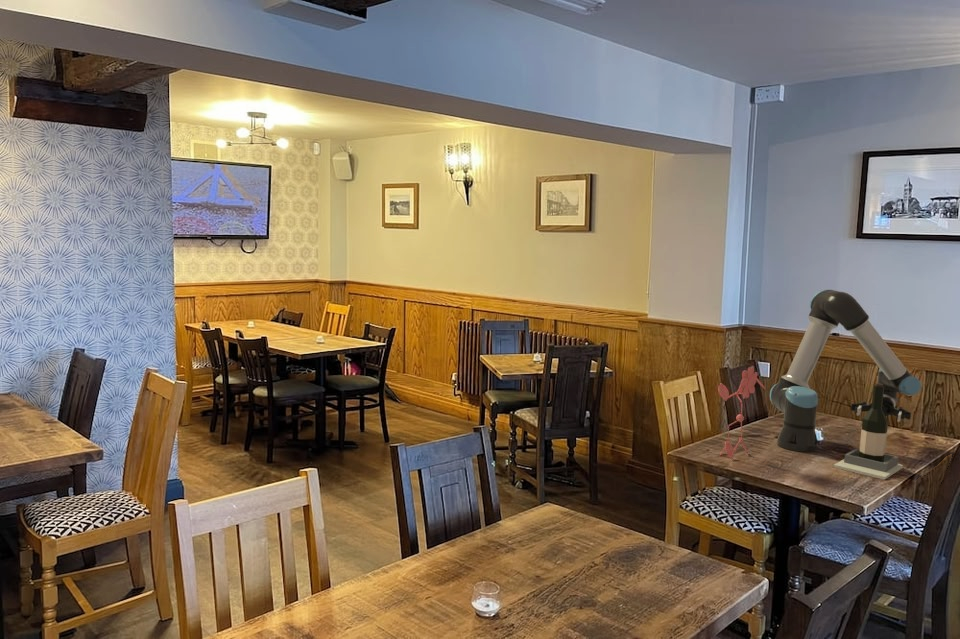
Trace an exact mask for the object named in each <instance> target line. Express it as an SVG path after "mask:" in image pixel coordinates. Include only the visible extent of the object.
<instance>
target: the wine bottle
mask: <svg viewBox="0 0 960 639" xmlns="http://www.w3.org/2000/svg"><path fill="white" fill-rule="evenodd" d="M883 393H884V386H883V384H880V383H878V382H877V383H876V382H875V384H874V385H873V389H872V399H871V403H872V407H871V409H870V410H869V411H867V412H866V413H865V415H864V416H863V417H862V421H861V432H860V439H859V440H860V442H859V448H860V450H859V457H861V458H865V459H869V460H874V461H878V462H882V463H884V456H885V454H886V446H887V445H886V444H887V437H888V436H887V435H888V426H889V420H888V417H887V416H885V414H884V412H883V410H882V403H883Z"/></svg>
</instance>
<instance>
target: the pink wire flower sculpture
mask: <svg viewBox="0 0 960 639" xmlns="http://www.w3.org/2000/svg"><path fill="white" fill-rule="evenodd" d="M758 375H759V373H758V371H756V372H755V367H754V365H751V366H749V367H748V368H747V370H746V369H745V370H743V371H742V372H741V377H742V379H741V381H740V384H739V386H738V389H737V391H735V392H734V393H732V394H730V391H729V390H728V388H727V386H726V385H724V384H723V383H722V382H721V383H719V385H718V389H717V390H718V394H719V397H721V398H722V399H723V401H725V402H727V401H728V399H730V398H731V397H734V396H736V397H737V399H738V401H739V402H740V414H737V416H736V417H735V418H736V420H735V421H734V422H732V423H730V424H728V426H727V440H726V441H725V442H724V447H723V449H722V451H721V452H720V454H719V456H722V454H724V452H725V451H726V454H727V456H728V457H729V458H730V459H731V460H733V458H734V455H735V453H734V452H735V451H736V449H737V448H738V446H739V445H740V444H741V446H742V447H743V449H744V450H745V452H746V453H747V454H749V451H748V449H747V447H746V445H745V444H744V442H743V421H744V420H745V417H744V415H743V403H744V402H743V401H742V399H743V400H744V399H748V398H750V394H754V393H755V391H756V388H755V385H756V383H758V384H759V385H760V387H762V388H763V389H764V390H767V389H766V387H765V385H764V384H763V383H762V381H761V380H760V379H759V378H758ZM739 395H742V399H741V398H740V396H739ZM737 422H740V436H741V437H739V438H738V439H739V441H738V442H737V444H736V445H735V446H734V447H733V446H732V444H731V442H730V426H733V425H734V424H735V423H737ZM709 457H710V458H712V456H711V455H709Z"/></svg>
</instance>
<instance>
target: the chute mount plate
mask: <svg viewBox="0 0 960 639" xmlns="http://www.w3.org/2000/svg"><path fill="white" fill-rule="evenodd" d="M859 450H860V447H856V448H854V449H852V450H851V451H849V452H847V453H845V454H844V459H842V460H840V461H838V462H836V463H834V464H833V468H835V469H838V470H839V469H840V470H844V471H847V472H852V473H856V474H860V475H864V476H867V477H873V478H876V479H880V480H884V481H885V480H886V479H888V478H889V477H891V476H892V475H894V474H895V473H897V472H899V471H900V470H902V469H903V467H904V464H900V463H899V456H896V455H892V454H888V453H885V456H884V463H882V462H878V461H874V460H869V459H865V458H861V457H859Z"/></svg>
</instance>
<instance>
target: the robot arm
mask: <svg viewBox="0 0 960 639" xmlns="http://www.w3.org/2000/svg"><path fill="white" fill-rule="evenodd" d="M809 306H810V307H809V308H810V311H809V315H808V316H807V317H808V319H809V324H808V326H807V328H806V331H805V332H804V335H803V337H802V339H801V341H800V343H799V346H798V348H797V350H796V353H795V355H794V357H793V360H792V362H791V364H790V366H789V368H788V371H787V373H786V374H784V375H781V376H780V379H779V381H778V382H777V383H776V384H774V385H773V386H772V387H771V389H770V390H769V400H770V402H771V404H772V405H773V406H774V408H775V409H777V410H778V411H780V412H782V413H783V424H782V427H781V430H780V432H779V434H778V437H777V439H776V444H777V446H779V447H780V448H783V449H786V450H790V451H795V452H802V453H804V452H805V453H809V452H810V453H811V452H816V451H818V450H819V441H818V437H817V432H816V421H817V413H818V412H817V411H818V404H819V399H818V396H819V395H818V392H816V391H815V390H814V389H812V388H810V386H809V383H808V382H809V380H810V378H811V376H812V374H813V373H814V372H813V371H814V369H815V367H816V365H817V362H818V361H819V358H820V356H821V353H822V352H823V350H824V347H825V345H826V343H827V340H828V339H829V336H830V334H831V332H832V330H834V329H836V328H838V326H839V324H840V325H841V326H842V327H843V328H844V329H845V331H847V332H851V334H852V335H853V336H854V338H855V339H856V341H857V342H858V343H859V344H860V346H862V348H863V349H864V350H865V351H866V353H867V354H868V355H869V356H870V358H871V359H872V360H873V361H874V363H875V364H876V365H877V367H878V368H879V370H878V373H877V374H878V375H877V376H878V378H877V383H880V384H883V386H884V393H883V403H882V410H883V412H884V414H885V416H886V417H887V416H894V417H897V423H901V420H905V419H907V420H911V415H912V412H910V411H908V410H906V409H904V407H902V406H898V407H897V404H898V394H899V393H900V394H902V395H905V396H906V395H907V396H916V395H917V394H918V393H920V391H921V389H922V383H921V380H919V379H918V378H917V377H916V376H913V375H912V373H910V371H909V370H908V369H907V368H906V367H905V365H904V364H903V363H902V362H901V360H900V359H899V358H898V357H897V355H896V354H895V353H894V352H893V350H892V349H891V347H890V346H889V345H888V344H887V343H886V341H885V340H884V339H883V337H882V336H881V335H880V333H879V331H877V329H876V328H875V327H874V325H873V324H872V323H871V322H870V320H869V318H870V316H869V315H868V314H867V311H866V310H865V309H864V308H863V307H862V306H861V304H860V303H859V302H858V301H857V299H855V298H854V297H853V296H852V295H851V294H849V293H847V292H844V291H839V290H836V289H824V290H820V291H818V292H816V293H815V294H814V295H813V296H812V297H811V300H810V303H809ZM871 407H872V402H871V403H868V402H866V401H863V402H857V403H856V402H855V403H851V406H850V411H853V412H855V414H856V416H858V417H859V416H860V415H861V413H862V412H863V413H864V412H868V411H869V410H870V409H871ZM895 407H897V408H895Z"/></svg>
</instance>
